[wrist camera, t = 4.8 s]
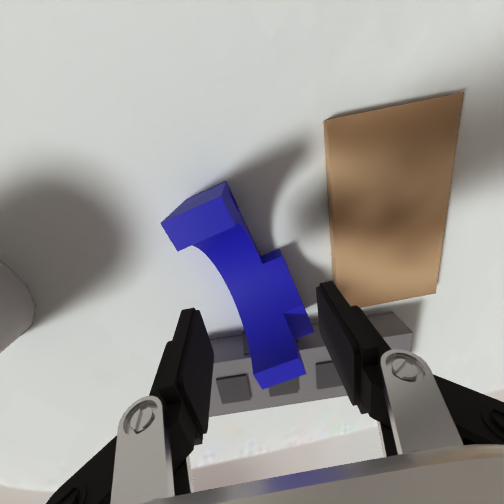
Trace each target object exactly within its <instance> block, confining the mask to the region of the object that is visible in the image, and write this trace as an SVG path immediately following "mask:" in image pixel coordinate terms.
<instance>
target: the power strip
mask: <svg viewBox="0 0 504 504" xmlns="http://www.w3.org/2000/svg"><path fill="white" fill-rule="evenodd" d="M366 317H367V318H368V319H369V320H370V322H371V323H372V324H373V326H374V327H375V328H376V330H377V331H378V332H379V333H380V335H381V336H382V337H383V339H384V340H385V341H386V343H387V344H388V345H389V347H390V348H391V349H392V350H394V349H400V350H406V351H409V352H410V349H411V343H412V337H413V332H412V331H411V330H410V329H409V328H408V327H407V326H406V325H405V324H404V323H403V322H402V321H401V320H400V319H399V318H398V317H397V316H396V315H395V314H394V313H393V312H389V313H383V314H376V315H369V316H366ZM311 325H312V327H313V329H314V333H311V334H308V335H306V336H303V337H300V338H298V339H296V342H297V345H298V349H299V352H300V355H301V358H302V361H303V364H304V367H305V371H306V374H305V375H302V376H299V377H297V378H294V379H291V380H288V381H285V382H283V383H280V384H277V385H274V386H271V387H269V388H266V389H263V390H262V388H261V387H260V385H259V384H258V382H257V380H256V379H255V377H254V375H253V369H252V362H251V356H250V350H249V346H248V341H247V337H246V334H245V332H243V335H237V336H231V337H224V338H217V339H211V340H210V342H211V345H212V348H213V351H214V365H213V376H212V387H211V398H210V409H209V417H212V416H219V415H225V414H231V413H238V412H244V411H251V410H257V409H264V408H270V407H277V406H283V405H290V404H296V403H303V402H309V401H315V400H322V399H328V398H335V397H341V396H348V395H347V392H346V390H345V388H344V386H343V384H342V381H341V379H340V377H339V375H338V373H337V370H336V368H335V366H334V364H333V362H332V359H331V357H330V355H329V353H328V351H327V348H326V346H325V344H324V342H323V340H322V337H321V334H320V330H319V323H317V324H311Z"/></svg>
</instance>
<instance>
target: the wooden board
mask: <svg viewBox="0 0 504 504" xmlns="http://www.w3.org/2000/svg"><path fill="white" fill-rule="evenodd" d="M463 94H464V92H462V93H457V94H452V95H447V96H442V97H437V98H432V99H427V100H422V101H417V102H412V103H407V104H402V105H397V106H392V107H387V108H382V109H378V110H373V111H368V112H363V113H358V114H353V115H348V116H343V117H338V118H333V119H328V120H325V121H324V136H325V153H326V170H327V187H328V204H329V221H330V239H331V256H332V273H333V283H334V284H335V285H336V287H337V288H338V289H339V291H340V292H341V294H342V295H343V296H344V298H345V299H346V301H347V302H348V303H349V305H350V306H354V305H357V306H358V307H359V308H362V307H367V306H372V305H377V304H382V303H388V302H393V301H398V300H403V299H408V298H413V297H419V296H424V295H429V294H434V293H436V287H437V280H438V272H439V265H440V258H441V251H442V244H443V237H444V230H445V223H446V215H447V208H448V201H449V194H450V187H451V180H452V173H453V166H454V158H455V151H456V144H457V137H458V130H459V123H460V116H461V109H462V101H463Z"/></svg>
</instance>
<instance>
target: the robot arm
mask: <svg viewBox="0 0 504 504" xmlns="http://www.w3.org/2000/svg"><path fill="white" fill-rule="evenodd" d="M316 293H317V306H318V318H319V330H320V334H321V337H322V340H323V342H324V344H325V346H326V348H327V351H328V353H329V355H330V357H331V359H332V362H333V364H334V366H335V368H336V370H337V373H338V375H339V377H340V379H341V381H342V384H343V386H344V388H345V390H346V392H347V395H348V397H349V399H350V401H351V403H352V405H353V406H354V405H357V406H358V408H359V410H360V412H361V414H365V413H368V414H369V416H370V417H372V418H373V419H375V420H377V422H378V428H379V433H380V438H381V443H382V449H383V455H384V458H379V459H373V460H367V461H362V462H356V463H350V464H345V465H339V466H334V467H328V468H322V469H317V470H311V471H306V472H301V473H296V474H290V475H284V476H279V477H273V478H268V479H263V480H258V481H252V482H247V483H241V484H236V485H231V486H226V487H220V488H215V489H210V490H204V491H199V492H194V486H193V479H192V472H191V465H190V459H189V454H190V453H191V452H192V451H193V449H194V445H199V444H202V440H203V434H205V433H207V430H208V420H209V409H210V398H211V387H212V376H213V365H214V351H213V348H212V345H211V342H210V339H209V336H208V333H207V331H206V328H205V325H204V322H203V319H202V316H201V313H200V311H199V310H195V308H190V309H185V310H182V311H181V314H180V317H179V321H178V324H177V327H176V330H175V334H174V337H173V340H172V341H169V342H167V344H166V347H165V350H164V353H163V356H162V358H161V361H160V364H159V367H158V370H157V373H156V376H155V379H154V382H153V385H152V388H151V391H150V394H149V396H146V397H143V398H141V399H139V400H137V401H136V402H134V403H133V404H132V405H131V406H130V407H129V408H128V409H127V410H126V411H125V413H124V414H123V416H122V418H121V419H120V422H119V426H118V434H117V436H116V437H115V438H113V439H112V440H111V441H110V442H109V443H108V444H107V445H106V446H105V447H104V448H103V449H101V450H100V451H99V452H98V453H97V454H96V455H95V456H94V457H93V458H92V459H90V460H89V461H88V462H87V463H86V464H85V465H84V466H83V467H82V468H81V469H80V470H78V471H77V472H76V473H75V474H74V475H73V476H72V477H71V478H70V479H69V480H67V481H66V482H65V483H64V484H63V485H62V486H61V487H60V488H59V489H58V490H57V491H56V492H55V493H54V494H53V495H52V497H51V498H50V499H49V500H48V502H47V503H46V504H504V402H501V401H499V400H496V399H494V398H491V397H489V396H486V395H484V394H481V393H479V392H476V391H474V390H471V389H469V388H466V387H464V386H461V385H458V384H456V383H453V382H451V381H448V380H446V379H443V378H441V377H438V376H436V375H433V374H432V372H431V370H430V368H429V366H428V365H427V363H426V362H425V361H424V360H423V359H422V358H421V357H419V356H417V355H416V354H414V353H412V352H409V351H406V350H400V349H394V350H392V349H391V348H390V347H389V345H388V344H387V343H386V341H385V340H384V339H383V337H382V336H381V335H380V333H379V332H378V331H377V330H376V328H375V327H374V326H373V324H372V323H371V322H370V320H369V319H368V318H367V317H366V315H365V314H364V313H363V311H362V310H361V309H360V308H359V307H358V306H357V305H354V306H350V305H349V303H348V302H347V301H346V299H345V298H344V296H343V295H342V294H341V292H340V291H339V289H338V288H337V287H336V285H335V284H334V283H333V281H329V282H324V283H320V286H319V287H316Z"/></svg>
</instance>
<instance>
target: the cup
mask: <svg viewBox="0 0 504 504" xmlns="http://www.w3.org/2000/svg"><path fill="white" fill-rule="evenodd" d="M34 311H35V304H34V301H33V299H32V297H31V295H30V292H29V290H28V288H27V286H26V284H25V283H24V282H23V281H22V280H21V279H20V278H19V277H18V276H17V275H15V274H14V273H13V272H12V271H11V270H10V269H9V268H8V267H7V266H6V265H5V264H3V263H1V262H0V353H1V352H2V351H3V350H4V349H5V348H7V347H8V346H9V345H10V344H11V343H12V342H14V341H15V340H16V339H17V338H18V337H19V336H20V335H21V334H23V333H24V332H25V331H26V330H27V329H28V328H29V327H30V326H31V325H32V324H33V318H34Z"/></svg>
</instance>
